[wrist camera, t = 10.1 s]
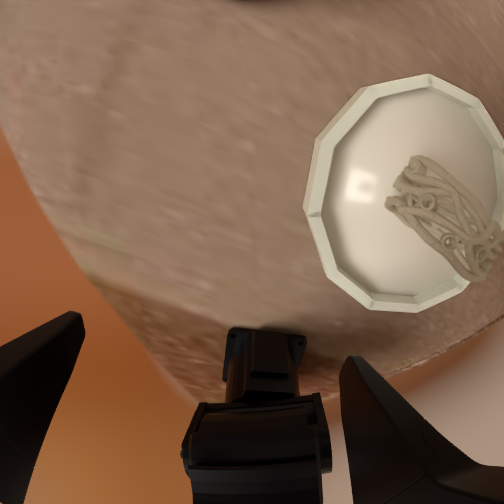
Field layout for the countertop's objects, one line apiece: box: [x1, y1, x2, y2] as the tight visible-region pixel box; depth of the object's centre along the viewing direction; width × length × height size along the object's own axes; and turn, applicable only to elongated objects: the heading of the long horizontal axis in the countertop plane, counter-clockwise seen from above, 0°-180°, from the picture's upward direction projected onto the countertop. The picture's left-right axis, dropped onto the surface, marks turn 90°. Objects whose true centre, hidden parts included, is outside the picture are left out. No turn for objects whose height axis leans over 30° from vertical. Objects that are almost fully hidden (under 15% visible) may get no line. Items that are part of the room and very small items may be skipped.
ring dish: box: [303, 74, 504, 313], centre depth 18 cm, size 17×17×2 cm
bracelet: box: [384, 155, 504, 282], centre depth 15 cm, size 4×8×8 cm, turn 63°
